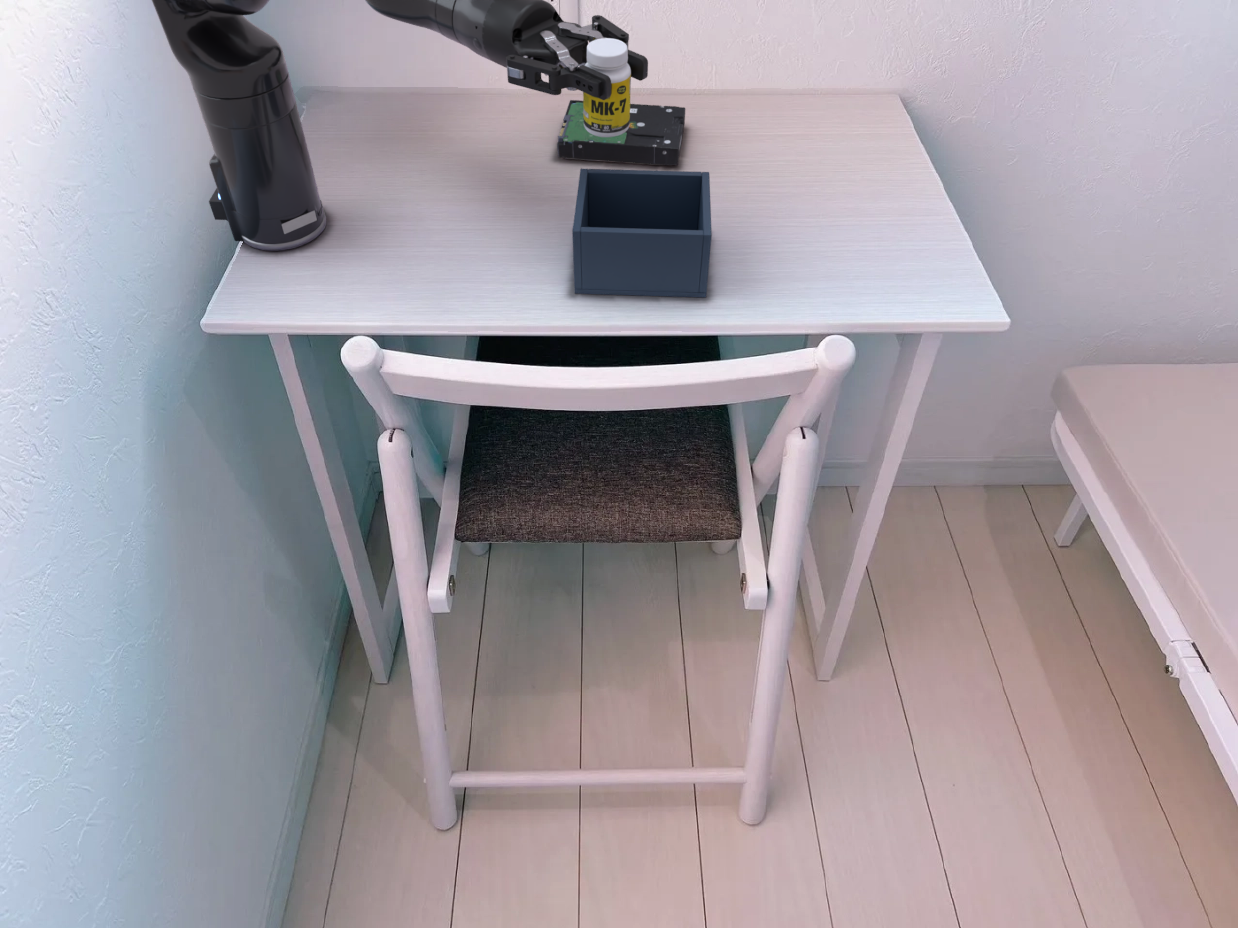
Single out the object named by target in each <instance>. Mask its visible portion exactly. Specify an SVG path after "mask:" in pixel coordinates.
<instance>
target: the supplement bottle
mask: <svg viewBox="0 0 1238 928" xmlns="http://www.w3.org/2000/svg"><path fill="white" fill-rule="evenodd" d="M628 50H629V47H628V48H627V45H626V44H625V43H624V42H622V41H620V40H617V39H612V38H602V39H597V40H594V41H592V42H588V45H587V63H586V64H585V66H587V67H589V68H591V69H594V70H596V71H598V72H600V73H603V74H605V75H607V76H609V77H610V79H611V96H610V97H609V98H607V99H606V100H602V99H600V98H597V97H593V96H591V95H589V94H587V93H584V92H582V99H583V100H582V101H583V116H584V127H585V129H586V130H587V131H588V132H589V133H591V134H593V135H595V136H599V137H614V136H618V135H621V134H623V133H625V132H626V131H627V130H628V128H629V124H630V104H631V89H632V87H631V86H632V77H631V68H630V66H629V64H628V63H627V61H628Z"/></svg>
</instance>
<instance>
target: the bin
mask: <svg viewBox="0 0 1238 928" xmlns="http://www.w3.org/2000/svg"><path fill="white" fill-rule="evenodd" d="M577 185H578V186H577V193H576V199H575V200H576V201H575V209H574V215H573V223H572V258H573V259H572V261H573V263H572V264H573V288H574V289H573V290H574V294H575V295H577V294H578V295H579V294H581V295H607V296H608V295H609V296H610V295H613V296H644V297H645V296H646V297H675V298H676V297H677V298H707V294H708V293H707V292H708V281H709V273H710V272H709V270H710V260H711V259H710V258H711V248H712V238H713V237H712V235H713V232H712V209H711V205H712V204H711V181H710V172H709V171H687V170H686V171H684V170H683V171H682V170H649V169H646V170H645V169H611V168H610V169H609V168H580V169H579V178H578V184H577Z"/></svg>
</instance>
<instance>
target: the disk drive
mask: <svg viewBox="0 0 1238 928" xmlns="http://www.w3.org/2000/svg"><path fill="white" fill-rule="evenodd" d="M568 102H569V103H568V105H567V108H566V111H565V114H564V116H563V123H562V124H561V128H560V131H559V134H558V135H557V143H556V151H557V157H558V158H563V159H568V160H580V161H581V160H582V161H583V160H584V161H596V162H613V163H626V164H638V165H652V166H678V165H679V160H680V154H681V148H682V143H683V137H684V129H685V123H686V107H684V106H683V107H682V106H681V107H680V106H676V105H659V104H642V103H641V104H640V103H639V104H638V103H630V124H629V128H628V130H627V131H626V132H625V133H623V134H621V135H618V136H614V137H599V136H595V135H593V134H591V133H589V132H588V131H587V130H586V129H585V127H584V116H583V100H579V99H570V100H569V101H568Z"/></svg>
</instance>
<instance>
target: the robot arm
mask: <svg viewBox="0 0 1238 928" xmlns="http://www.w3.org/2000/svg"><path fill="white" fill-rule="evenodd" d="M364 1H365V2H366V4H367V5H368V6H369V7H370V8H371V9H372V10H373V11H375V12H377V13H378V14H380V15H382V16H384V17H386V18H390V19H392V20H394V21H399V22H402V23H404V24H409V25H411V26H412V25H413V26H414V27H415V26H416V27H420V28H424V29H427V30H431V31H433V32H436V33H438V34H440V35H441V36H443V37H445V38H447V39H448V40H451V41H453V42H455V43H458V44H459V45H462V46H464V47H466V48H468V49H469V50H470V51H472V52H473V53H475V54H477V55H478V56H479V57H482V58H484V59H486V60H489V61H491V62H493V63H495V64H496V65H499V66H502V67H503V68H506V74H507V83H509V84H511V85H515V86H519V87H521V88H526V89H529V90H533V91H537V92H540V93H544V94H548V95H551V96H559V95H561V94H562V90H563V89H564V90H565V89H566V90H568V91H570V92H573V91H574V92H575V91H580V92H582V93H583V92H584V93H587V94H589V95H591V96H593V97H597V98H600V99H602V100H606V99H607V98H609V97H610V96H611V79H610V77H609V76H607V75H605V74H603V73H600V72H598V71H596V70H594V69H591V68H589V67H587V66H585V64H586V63H587V45H588V44H589V43H590V42H592V41H594V40H597V39H602V38H612V39H617V40H620V41H622V42H624V43H625V44H626V45H627V48H628V61H627V63H628V64H629V66H630V68H631V79H632V78H633V79H635V80H637V81H639V82H641V81H643V80H645V79H647V78H648V75H649V61H648V58H647V57H646V56H645V55H642V54H640V53H638V52H635V51H633V50H630V49H629V41H630V34H629V33H628V32H626V31H625V30H624V29H622V28H620V27H619V26H618V25H616V24H614V23H613V22H612V21H610V20H609V19H607V18H605V17H604V16H603V15H600V14H596V15H592V16H591V23H590V24H587V25H584V26H581V25H580V24H579V23H576V22H569V21H564V19H562V17H561V16H560V14H559V13H558V10H556V8H555V7H554V6H553V5H552V4H551V3H550V2H548V1H546V0H364ZM270 2H271V0H151V3H152V5H153V7H154V10H155V12H156V15H157V17H158V19H159V23H160V25H161V28H162V30H163V33H164V35H165V39H166V41H167V44H168V46H169V49H170V51H171V53H172V55H173V57H174V58H175V60H176V61H177V63H178V64H179V66H181V68H182V69H183V70H184V71H185V72H186V74H187V76H188V79H189V81H190V84H191V87H192V90H193V93H194V97H195V99H196V102H197V105H198V108H199V112H200V114H201V117H202V121H203V123H204V127H205V129H206V132H207V136H208V139H209V142H210V145H211V148H212V151H213V154H212V156H211V158H210V160H209V161H208V163H209V164H208V165H209V169H210V171H211V172H210V173H211V174H212V178H213V181H214V183H215V186H216V188H215V190H214V191H213V193H212V195H211V197H210V198H209V200H208V204H209V206H210V210H211V212H212V215H213V217H214V220H215V221H227V223H228V225H229V228H230V231H231V234H232V237H233V240H234V241H235V242H243V243H244V244H246V245H247V246H250V247H252V248H254V249H256V250H262V251H271V252H272V251H285V250H291V249H295V248H299V247H301V246H304V245H306V244H308V243H310V242H312V241H313V240H315V239H317V237H319V236H320V235H322V233H323V232H324V230H325V228H326V225H327V217H326V213H325V210H324V208H323V202H322V199H321V197H320V192H319V188H318V185H317V180H316V177H315V172H314V168H313V165H312V160H311V157H310V152H309V149H308V144H307V141H306V136H305V131H304V129H303V124H302V120H301V117H300V112H299V108H298V104H297V100H296V97H295V91H294V88H293V85H292V80H291V76H290V72H289V68H288V64H287V60H286V56H285V53H284V50H283V48H282V46H281V44H280V42H279V41H278V40H277V39H276V38H275V37H274V36H273V35H271V34H270V33H269V32H266V31H265V30H263V29H262V28H260V27H259V26H257V25H255V24H254V23H253V22H251V21H250V20H249V19H247V17H245V16H250V15H254V14H256V13H258V12H260V11H261V10H263V9H264V8H265V7H266V6H267V4H268V3H270ZM542 74H543V75H545V76H546V77H547V76H548V81H545V80H543V79H542Z"/></svg>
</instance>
